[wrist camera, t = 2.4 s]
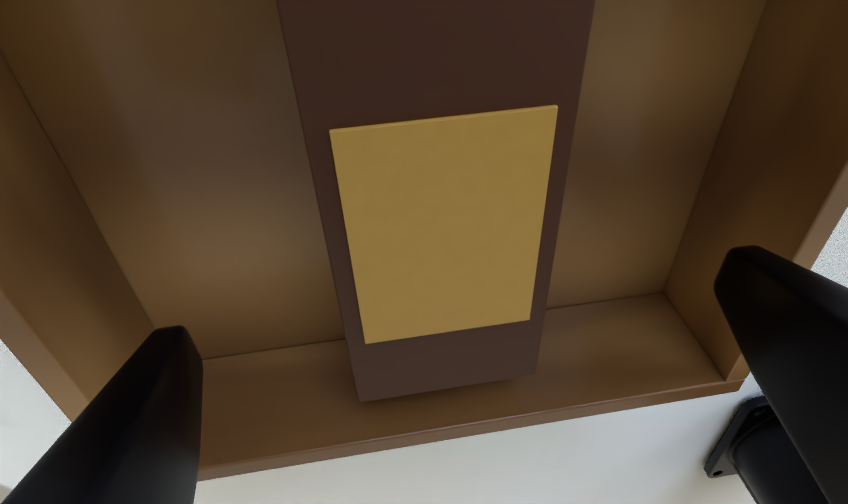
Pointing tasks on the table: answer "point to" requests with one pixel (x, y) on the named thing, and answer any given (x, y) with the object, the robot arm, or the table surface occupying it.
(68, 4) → the wooden box
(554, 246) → the chocolate bar
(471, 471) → the table surface
